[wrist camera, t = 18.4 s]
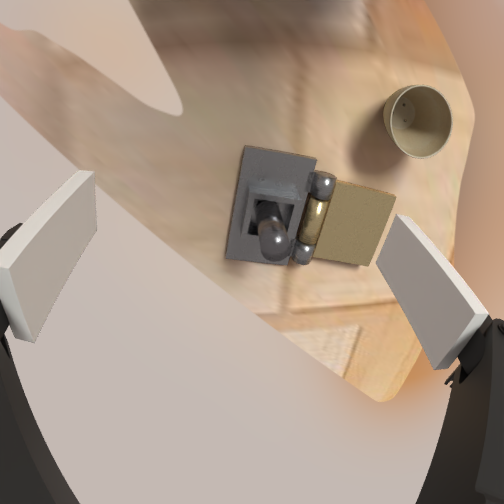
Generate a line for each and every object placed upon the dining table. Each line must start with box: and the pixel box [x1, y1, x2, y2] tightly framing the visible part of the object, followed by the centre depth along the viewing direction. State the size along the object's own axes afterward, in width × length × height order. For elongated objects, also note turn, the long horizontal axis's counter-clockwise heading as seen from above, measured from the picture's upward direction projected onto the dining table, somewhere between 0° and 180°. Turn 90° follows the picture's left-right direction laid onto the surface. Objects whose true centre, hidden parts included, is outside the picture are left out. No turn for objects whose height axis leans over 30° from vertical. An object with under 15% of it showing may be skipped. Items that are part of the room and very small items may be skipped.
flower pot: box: [383, 85, 453, 159], centre depth 38 cm, size 10×10×7 cm
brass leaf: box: [299, 180, 396, 266], centre depth 48 cm, size 13×13×3 cm
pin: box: [255, 201, 291, 262], centre depth 43 cm, size 4×4×10 cm
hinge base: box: [226, 145, 337, 265], centre depth 47 cm, size 18×13×4 cm
